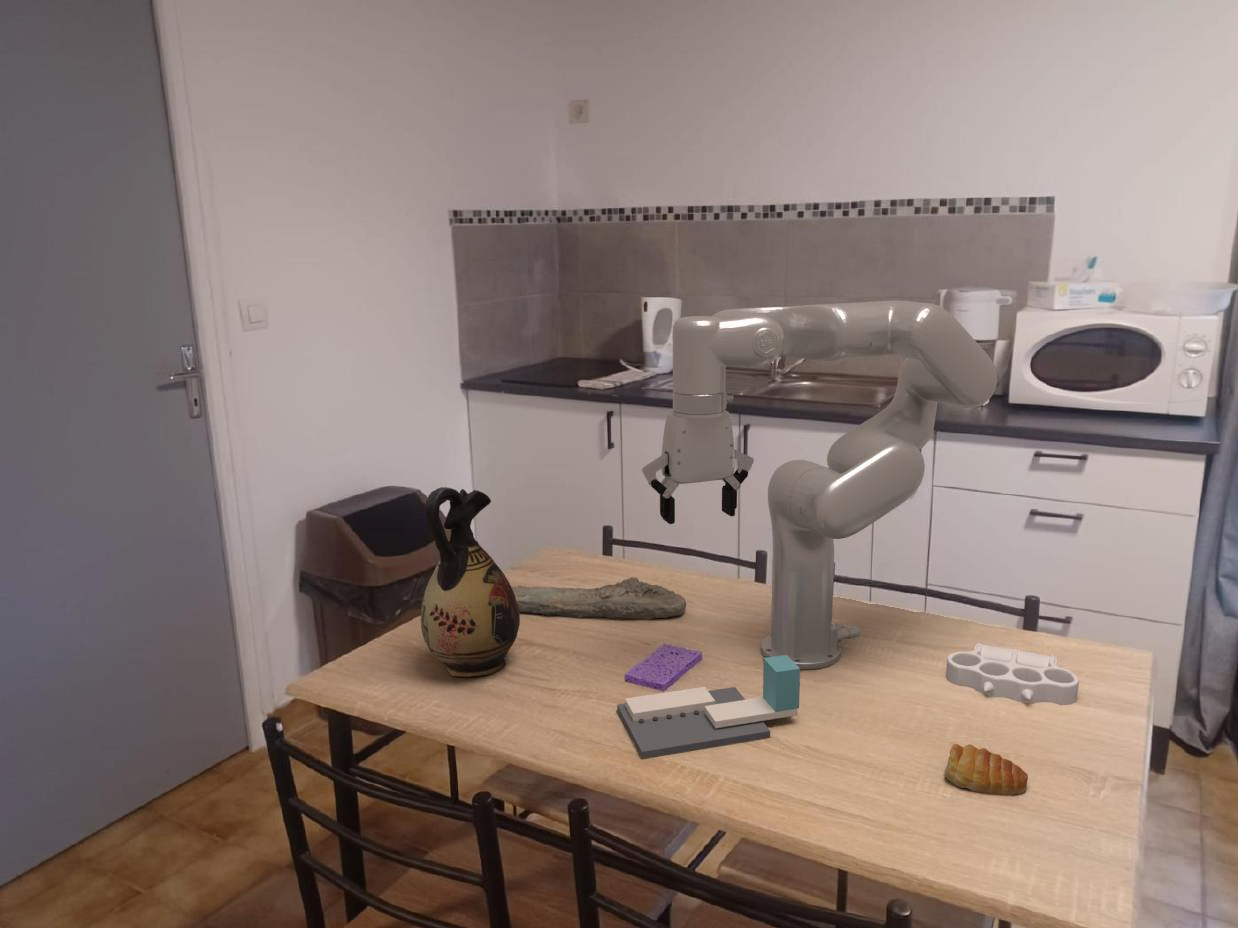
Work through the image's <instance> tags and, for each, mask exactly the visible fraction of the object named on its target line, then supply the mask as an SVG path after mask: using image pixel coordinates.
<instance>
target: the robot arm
mask: <svg viewBox="0 0 1238 928" xmlns="http://www.w3.org/2000/svg"><path fill="white" fill-rule="evenodd" d="M779 357H789V358H790V357H791V358H798V359H803V360H804V359H805V360H808V361H809V360H810V361H817V362H818V361H820V362H822V361H823V362H838V361H847V360H848V361H849V360H856V359H857V360H859V359H866V358H867V359H869V358H871V359H872V358H885V357H900V358H904V360H903V361H902V364H901V365H900V368H899V372H898V377H897V384H896V389H895V392H894V396H893V398H892V400H891V402H890V403H889V404H888V405H887V406H886V407H885V408H883V409H882V410H881V411H879V412H877V414H875V415H873V416H872V417H870V418H868V419H867V420H866V421H864V422H862V423H861V424H859V425H858V426H856V427H854V428H852V429H851V430H849V431H847V432H846V433H845V434H843V435H841V436H840V437H839V438H837V440H836V441H834V442H833V443H832V445H831V446H830V447H829V450H828V453H827V455H826V463H827V467H826V466H824V465H820V464H818V463H815V462H813V461H811V460H804V459H793V460H789V461H786V462H784V463H782V464H781V465H780V466H778V467H777V468H776V470H775V471H774V472H773V473H772V474H771V477H770V480H769V482H768V487H767V503H768V510H769V516H770V523H771V532H772V560H771V561H772V562H771V565H772V566H771V567H772V569H771V615H770V616H771V617H770V618H771V622H770V623H771V624H770V625H771V628H770V634H768V635H766V636H765V637H764V638H763V640H762V641H761V644H760V645H761V646H760V647H761V649H760V650H761V653H762V655H763V656H764V658H768V657H775V656H782V655H787V656H788V657H789V658H790V659H791V660H792V661H793V662H794V663H795V664H796V665H797V666H798V667H799V668H800V670H814V669H821V668H825V667H829V666H831V665H833V664H835V663H836V662H837V661H839V659H840V657H841V654H842V652H841V651H842V649H841V645H840V644H839V643H842V641H843V640H851V639H858V638H860V636H861V632H860V629H859V626H858V625H854V626H845V623H844V622H836V623H832V622H833V621H832V620H833V597H834V596H833V595H834V573H835V571H834V569H835V567H834V566H835V544H834V542H835V541H834V540H841V539H846V538H849V537H851V536H853V535H855V534H858V533H860V532H861V531H862V530H865V529H866V528H867V527H869V526H870V525H872V524H873V523H875V522H877V521H879V520H880V519H881V518H883V517H884V516H886V515H887V514H889V513H890V512H892V511H893V510H895V509H897V508H898V507H899V506H900V505H902V504H904V503H905V502H906V501H908V500H909V499H910V498H912V496H913V495H914V494H915V493H916V491H917V490H918V489H919V487H920V485H921V483H922V480H923V478H924V475H925V469H926V468H925V459H924V457H923V454H922V453H921V451H920V450H921V449H922V448H923V447H925V446H926V445H927V443H928V442H929V441H930V439H931V438H932V435H933V432H934V428H935V422H936V415H937V408H938V403H940V404H944V405H949V406H953V407H958V408H961V409H962V408H963V409H972V408H977V407H980V406H982V405H984V404H985V403H987V402H988V401H989V400H990V399H991V398H992V396H993V395H994V393H995V391H996V388H997V384H998V373H997V369H996V365H995V363H994V362H993V360H992V359H991V357H990V356H989V354H988V353H987V351H985V350H984V349H983V348H982V347H981V345H980V344H979V343H978V342H977V341H976V339H974V338H973V336H972V335H971V334H970V333H969V332H968V331H967V330H966V329H965V327H964V326H963V325H962V324H961V323H960V322H959V321H958V319H956V317H954V315H952V314H951V313H950V312H949V311H947V310H946V309H945V308H943V307H942V306H940V305H938V304H935V303H930V302H919V301H910V300H909V301H908V300H895V299H894V300H879V301H878V300H877V301H863V302H862V301H861V302H845V303H843V302H842V303H839V302H838V303H824V304H823V303H819V304H817V303H816V304H806V305H804V304H803V305H793V306H790V305H789V306H767V307H766V306H765V307H747V308H746V307H745V308H732V309H731V308H730V309H724V310H720V311H718V312H716V313H714V314H712V316H710V315H691V316H689V315H688V316H683V317H680V318H678V319H676V320H675V321H674V323H673V326H672V411H671V412H668V413H667V414H666V418H665V424H664V427H663V428H664V429H663V436H662V445H661V455H660V456H659V457H657V458H655V459H654V460H653V461H651V462H649V463H648V464H647V465H645V466H643V467H642V468H641V472H642V474H643V475H644V477H645V479H646V481H647V483H648V485H649V486H650V487H651V488H652V489H653V490H654V491H656V492H657V494H659V514H660V517H661V518H662V520H663V521H665V522H666V523H667V524H669V525H673V524H674V523H676V516H675V515H676V510H675V509H676V506H675V505H676V502H675V501H676V499H675V498H674V496H672V495H673V494H674V492H675V491H676V489H677V488H678V487H679V485H686V484H687V485H688V484H695V483H697V484H698V483H705V482H712V481H720V480H721V481H723V483H724V485H722V486H721V512H723V513H724V514H726V515H728V516H730V517H735V515H736V509H737V508H738V491H739V490H740V489H741V487H742V484H743V482H744V481H745V480H746V479H747V477H748V476H749V471H751V469H752V466H753V464H754V462H755V459H754V457H752V456H750V455H747V454H745V453H744V452H741V451H739V450H736V449H735V442H734V431H733V424H732V421H731V416H730V412H729V411H727V410H726V409H727V408H728V407H727V405H728V404H729V403H733V402H734V398H735V397H734V393H733V392H730V393H728V391H727V390H726V378H727V377H726V375H727V374H726V373H727V372H726V369H727V367H743V368H744V367H745V368H760V367H765V366H768V365H769V364H772V363H773V362H775V361H776V360H777V359H778V358H779ZM735 460H737V461H739V463H740V464H739V467H738V468H737V469H736V470H735V466H736V465H735V464H736V462H735ZM660 470H661V471H660ZM659 471H660V472H661V475H662V476H663V477H664V478H663V479H662V480H661V481H659V479H658V477H657V475H656V474H657V472H659Z"/></svg>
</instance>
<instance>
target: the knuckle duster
mask: <svg viewBox="0 0 1238 928" xmlns="http://www.w3.org/2000/svg"><path fill="white" fill-rule="evenodd" d="M945 669H946V671H945V677H946V680H947V681H948V682H950V683H951V684H953V685H954V686H958V687H959V686H960V687H967V688H970V689H973V690H975V691H977V692H979V693H980V694H982V695H986V696H990V697H993V698H1003V699H1004V698H1005V699H1008V700H1009V699H1010V700H1013V701H1015V702H1019V703H1028V704H1029V703H1030V704H1035V703H1050V704H1055V705H1059V706H1067V705H1071V704H1074V703H1076V702H1077V701H1078V695H1079V686H1080V685H1079V684H1080V679H1079V677H1078V676H1077V675H1076V673H1074V672H1073V671H1071V670H1068V669H1065V668H1063V667H1059V665H1058V657H1057V656H1056V655H1052V654H1050V655H1046V654H1042V653H1041V654H1040V653H1035V652H1029V651H1024V650H1019V649H1018V648H1013V649H1012V648H1007V647H1002V646H1001V647H1000V646H995V645H994V646H993V645H988V644H983V643H982V642H978V643H975V646H974V650H971V651H956V652H952V653H950V654H949V655H948V656H947V659H946V668H945Z"/></svg>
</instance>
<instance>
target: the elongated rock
mask: <svg viewBox="0 0 1238 928" xmlns="http://www.w3.org/2000/svg"><path fill="white" fill-rule="evenodd" d="M511 587H512V590H513V592H514V594H515V597H516V601H517V604H518V608H519V613H529V614H534V615H535V614H536V615H537V614H538V615H544V616H553V615H555V616H560V617H565V618H567V617H568V618H569V617H572V618H580V619H581V618H595V617H596V618H600V617H601V618H607V619H608V618H609V619H611V620H612V619H613V620H614V619H618V620H626V619H631V620H632V619H633V620H635V619H636V620H642V619H644V620H646V621H652V620H653V619H654V618H657V619H658V618H659V619H660V618H664V619H665V618H669V617H670V618H671V617H674V616H681V615H683V613H684V612H685V610H686V607H687V601H686V599H685V597H684V596H682V595H680V594H676V593H675V592H674V591H673V590H669V589H667V588H666V587H663V586H662V585H661V586H660V585H658V584H649V582H643V581H640V580H639V578H638V577H629V578H626V579H624V580H622V581H621V582H619V581H618V582H617V583H615V584H605V585H603V586H600V587H595V588H584V587H583V588H581V587H554V586H550V587H547V586H545V587H544V586H522V585H518V586H511Z"/></svg>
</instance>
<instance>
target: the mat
mask: <svg viewBox="0 0 1238 928" xmlns="http://www.w3.org/2000/svg"><path fill="white" fill-rule="evenodd" d="M708 692H709V693H710V694H711V696H712V697H713V698H714V700H715V704H721V703H728V702H734V701H741V700H746V699H745V697H744V696H743V695H742V694H741V692H740V691H739V690H738V689H737V687H736V686H733V687H732V686H731V687H726V688H720V689H719V688H718V689H713V690H708ZM616 709H617V710H616V711H617V713H618V715H619V717H620V719H621V720H622V721H621V722H622V723H623V725H624V727H625V729H626V731H627V732H628V734H629V736H630V738H631V741H632V742H633V744H634V746H635V748H636V750H637V752H638V754H639V756H640V757H641V759H643V760H644V759H650V758H655V757H656V758H657V757H661V756H667V755H674V754H679V753H686V752H692V751H697V750H698V751H699V750H703V749H709V748H714V747H721V746H727V745H734V744H739V743H745V742H752V741H758V740H764V739H770V738H771V730H770V729H769V727H768V726H767V725H766V723H765V722H764V721H758V722H752V723H745V724H739V725H733V726H727V727H720V728H715V727H714V725H713V724H712V723H711V721H710V720H709V718H708V717H707V715H706V714H705V710H704V711H699V714H698V715H695V714H694V712H691V713H685V717H681V716H680V714H678V715H672V718H671V719H667V716H665V717H658V721H653V718H652V719H646V720H644V723H642V724H641V723H639V721H633V720H632V718H631V716H630V714H629V712H628V710H627V708H626V707H625V702H624V703H619V704H618V703H617V704H616Z"/></svg>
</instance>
